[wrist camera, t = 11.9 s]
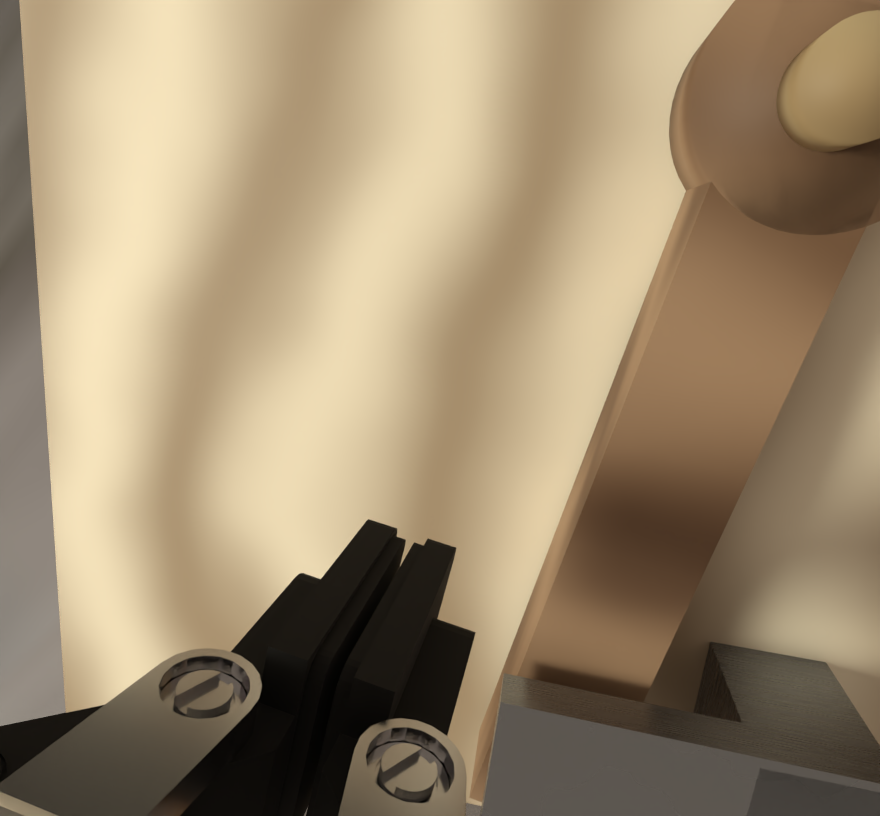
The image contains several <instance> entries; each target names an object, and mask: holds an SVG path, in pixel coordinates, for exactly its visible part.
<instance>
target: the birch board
mask: <svg viewBox="0 0 880 816" xmlns="http://www.w3.org/2000/svg"><path fill="white" fill-rule="evenodd" d="M19 1H20V16H21V31H22V47H23V62H24V77H25V93H26V108H27V123H28V138H29V154H30V169H31V184H32V200H33V215H34V230H35V246H36V261H37V276H38V292H39V307H40V322H41V338H42V353H43V368H44V384H45V399H46V414H47V429H48V445H49V460H50V475H51V491H52V506H53V521H54V537H55V552H56V567H57V583H58V598H59V613H60V629H61V644H62V659H63V675H64V690H65V705H66V713H67V712H72V711H77V710H82V709H86V708H91V707H96V706H101V705H105V704H106V703H108V702H109V701H110V700H112V699H113V698H115V697H116V696H117V695H119V694H120V693H121V692H123V691H124V690H125V689H127V688H128V687H129V686H131V685H132V684H133V683H135V682H136V681H137V680H139V679H140V678H141V677H143V676H144V675H145V674H147V673H148V672H149V671H151V670H152V669H153V668H155V667H156V666H157V665H159V664H160V663H161V662H163V661H165V660H167V659H168V658H170V657H172V656H174V655H176V654H178V653H182V652H185V651H189V650H192V649H204V648H212V649H220V650H227V651H229V652H231V651H232V650H233V648H234V647H235V646H236V645H237V644H238V643H239V642H240V640H241V639H242V638H243V637H244V636H245V635H246V633H247V632H248V631H249V630H250V629H251V628H252V627H253V625H254V624H255V623H256V622H257V621H258V620H259V618H260V617H261V616H262V615H263V614H264V613H265V612H266V610H267V609H268V608H269V607H270V606H271V605H272V603H273V602H274V601H275V600H276V599H277V598H278V596H279V595H280V594H281V593H282V592H283V591H284V590H285V588H286V587H287V586H288V585H289V584H290V583H291V581H292V580H293V579H294V578H295V577H296V576H297V575H298V574H299V573H304V574H307V575H310V576H313V577H316V578H319V579H321V578H322V577H323V576H324V574H325V573H326V572H327V571H328V569H329V568H330V567H331V565H332V564H333V563H334V562H335V560H336V559H337V558H338V557H339V555H340V554H341V553H342V551H343V550H344V549H345V548H346V546H347V545H348V544H349V543H350V541H351V540H352V539H353V537H354V536H355V535H356V534H357V532H358V531H359V530H360V529H361V527H362V526H363V525H364V523H365V522H366V521H367V520H368V519H370V520H373V521H376V522H379V523H382V524H385V525H388V526H391V527H394V528H397V537H399V538H402V539H406V543H405V548H404V552H403V556H402V560H401V564H402V562H403V561H404V559H405V557H406V555H407V554H408V552H409V550H410V548H411V546H412V545H413V543H414V542H415V543H418V544H421V545H424V544H425V542H426V540H427V539H431V540H434V541H437V542H441V543H444V544H447V545H450V546H453V547H456V553H455V557H454V561H453V564H452V568H451V572H450V575H449V579H448V582H447V586H446V590H445V593H444V597H443V600H442V604H441V608H440V611H439V615H438V618H437V619H439V620H441V621H444V622H447V623H450V624H453V625H456V626H459V627H462V628H465V629H468V630H471V631H473V632H476V633H475V637H474V641H473V644H472V648H471V652H470V655H469V659H468V663H467V666H466V670H465V673H464V677H463V681H462V684H461V688H460V691H459V695H458V699H457V702H456V706H455V710H454V713H453V717H452V720H451V724H450V728H449V731H448V735H447V737H448V738H449V739H450V740H451V741H452V742H453V743H454V744H455V746H456V747H457V748H458V750H459V752H460V754H461V756H462V758H463V760H464V762H465V769H466V775H467V783H466V803H470V804H475V805H479V806H482V802H479V801H477V800H474V799H472V798H469V797H470V790H471V783H472V777H473V770H474V763H475V757H476V750H477V743H478V737H479V730H480V727H481V724H482V722H483V719H484V717H485V714H486V711H487V709H488V706H489V704H490V701H491V698H492V696H493V693H494V690H495V688H496V685H497V683H498V680H499V677H500V675H501V672H502V670H503V667H504V664H505V662H506V659H507V657H508V654H509V651H510V649H511V646H512V643H513V641H514V638H515V636H516V633H517V630H518V628H519V625H520V623H521V620H522V617H523V615H524V612H525V610H526V607H527V604H528V602H529V599H530V597H531V594H532V591H533V589H534V586H535V583H536V581H537V578H538V576H539V573H540V570H541V568H542V565H543V563H544V560H545V557H546V555H547V552H548V550H549V547H550V544H551V542H552V539H553V536H554V534H555V531H556V529H557V526H558V523H559V521H560V518H561V516H562V513H563V510H564V508H565V505H566V503H567V500H568V497H569V495H570V492H571V490H572V487H573V484H574V482H575V479H576V476H577V474H578V471H579V469H580V466H581V463H582V461H583V458H584V456H585V453H586V450H587V448H588V445H589V443H590V440H591V437H592V435H593V432H594V430H595V427H596V424H597V422H598V419H599V416H600V414H601V411H602V409H603V406H604V403H605V401H606V398H607V396H608V393H609V390H610V388H611V385H612V383H613V380H614V377H615V375H616V372H617V369H618V367H619V364H620V362H621V359H622V356H623V354H624V351H625V349H626V346H627V343H628V341H629V338H630V336H631V333H632V330H633V328H634V325H635V323H636V320H637V317H638V315H639V312H640V309H641V307H642V304H643V302H644V299H645V296H646V294H647V291H648V289H649V286H650V283H651V281H652V278H653V276H654V273H655V270H656V268H657V265H658V262H659V260H660V257H661V255H662V252H663V249H664V247H665V244H666V242H667V239H668V236H669V234H670V231H671V229H672V226H673V223H674V221H675V218H676V216H677V213H678V210H679V208H680V205H681V202H682V200H683V197H684V195H685V192H686V190H685V188H684V186H683V184H682V183H681V181H680V179H679V177H678V174H677V172H676V169H675V166H674V164H673V159H672V155H671V150H670V140H669V121H670V113H671V107H672V102H673V99H674V95H675V92H676V88H677V86H678V83H679V81H680V79H681V76H682V74H683V72H684V70H685V68H686V66H687V65H688V63H689V61H690V60H691V58H692V56H693V55H694V54H695V52H696V51H697V49H698V48H699V47H700V45H701V44H702V43H703V41H704V40H705V39H706V37H707V36H708V35H709V33H710V32H711V31H712V30H713V28H714V27H715V26H716V24H717V23H718V22H719V20H720V19H721V18H722V16H723V15H724V14H725V12H726V11H727V10H728V9H729V7H730V6H731V5H732V3H733V2H734V1H735V0H19ZM401 564H400V566H401ZM710 642H716V643H722V644H727V645H733V646H738V647H744V648H749V649H755V650H761V651H766V652H772V653H777V654H783V655H788V656H794V657H800V658H805V659H811V660H816V661H822V662H826V663H827V665H828V666H829V668H830V669H831V671H832V672H833V674H834V676H835V677H836V679H837V680H838V682H839V683H840V685H841V686H842V688H843V689H844V691H845V693H846V694H847V696H848V697H849V699H850V700H851V702H852V703H853V705H854V707H855V708H856V710H857V711H858V713H859V714H860V716H861V717H862V719H863V720H864V722H865V724H866V725H867V727H868V728H869V730H870V731H871V733H872V734H873V736H874V738H875V739H876V741H877V742H878V744H879V745H880V221H879V222H877V223H874V224H872V225H870V226H867V227H866V228H865V231H864V233H863V235H862V237H861V239H860V241H859V243H858V245H857V248H856V250H855V252H854V254H853V256H852V258H851V260H850V263H849V265H848V267H847V269H846V271H845V273H844V275H843V277H842V280H841V282H840V284H839V286H838V288H837V290H836V292H835V295H834V297H833V299H832V301H831V303H830V305H829V307H828V309H827V312H826V314H825V316H824V318H823V320H822V322H821V324H820V327H819V329H818V331H817V333H816V335H815V337H814V339H813V341H812V344H811V346H810V348H809V350H808V352H807V354H806V356H805V358H804V361H803V363H802V365H801V367H800V369H799V371H798V373H797V376H796V378H795V380H794V382H793V384H792V386H791V388H790V390H789V393H788V395H787V397H786V399H785V401H784V403H783V405H782V408H781V410H780V412H779V414H778V416H777V418H776V420H775V422H774V425H773V427H772V429H771V431H770V433H769V435H768V437H767V440H766V442H765V444H764V446H763V448H762V450H761V452H760V454H759V457H758V459H757V461H756V463H755V465H754V467H753V469H752V472H751V474H750V476H749V478H748V480H747V482H746V484H745V486H744V489H743V491H742V493H741V495H740V497H739V499H738V501H737V503H736V506H735V508H734V510H733V512H732V514H731V516H730V518H729V521H728V523H727V525H726V527H725V529H724V531H723V533H722V535H721V538H720V540H719V542H718V544H717V546H716V548H715V550H714V553H713V555H712V557H711V559H710V561H709V563H708V565H707V567H706V570H705V572H704V574H703V576H702V578H701V580H700V582H699V585H698V587H697V589H696V591H695V593H694V595H693V597H692V599H691V602H690V604H689V606H688V608H687V610H686V612H685V614H684V617H683V619H682V621H681V623H680V625H679V627H678V629H677V631H676V634H675V636H674V638H673V640H672V642H671V644H670V646H669V648H668V651H667V653H666V655H665V657H664V659H663V661H662V663H661V666H660V668H659V670H658V672H657V674H656V676H655V678H654V680H653V683H652V685H651V687H650V689H649V691H648V693H647V695H646V698H645V700H644V703H649V704H654V705H659V706H663V707H668V708H673V709H678V710H682V711H687V712H692V713H693V712H694V708H695V703H696V699H697V695H698V691H699V687H700V683H701V679H702V675H703V670H704V666H705V662H706V658H707V654H708V650H709V646H710Z"/></svg>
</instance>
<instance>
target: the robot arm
mask: <svg viewBox="0 0 880 816" xmlns="http://www.w3.org/2000/svg"><path fill="white" fill-rule="evenodd" d="M405 543H406V539H402V538H399V537H397V528H394V527H391V526H388V525H385V524H382V523H379V522H376V521H373V520H370V519H368V520H367V521H366V522H365V523H364V525H363V526H362V527H361V529H360V530H359V531H358V532H357V534H356V535H355V536H354V537H353V539H352V540H351V541H350V543H349V544H348V545H347V546H346V548H345V549H344V550H343V551H342V553H341V554H340V555H339V557H338V558H337V559H336V560H335V562H334V563H333V564H332V565H331V567H330V568H329V569H328V571H327V572H326V573H325V574H324V576H323V577H322V578H321V579H319V578H316V577H313V576H310V575H307V574H304V573H299V574H298V575H297V576H296V577H295V578H294V579H293V580H292V581H291V583H290V584H289V585H288V586H287V587H286V588H285V590H284V591H283V592H282V593H281V594H280V595H279V596H278V598H277V599H276V600H275V601H274V602H273V603H272V605H271V606H270V607H269V608H268V609H267V610H266V612H265V613H264V614H263V615H262V616H261V617H260V618H259V620H258V621H257V622H256V623H255V624H254V625H253V627H252V628H251V629H250V630H249V631H248V632H247V633H246V635H245V636H244V637H243V638H242V639H241V640H240V642H239V643H238V644H237V645H236V646H235V647H234V648H233V650H232V651H231V652H229V651H227V650H220V649H212V648H204V649H192V650H189V651H185V652H182V653H178V654H176V655H174V656H172V657H170V658H168V659H167V660H165V661H163V662H161V663H160V664H159V665H157V666H156V667H155V668H153V669H152V670H151V671H149V672H148V673H147V674H145V675H144V676H143V677H141V678H140V679H139V680H137V681H136V682H135V683H133V684H132V685H131V686H129V687H128V688H127V689H125V690H124V691H123V692H121V693H120V694H119V695H117V696H116V697H115V698H113V699H112V700H110V701H109V702H108V703H106V704H105V705H101V706H96V707H91V708H86V709H82V710H77V711H72V712H67V713H62V714H58V715H53V716H48V717H43V718H38V719H33V720H29V721H24V722H19V723H14V724H9V725H4V726H0V816H304V813H305V811H306V809H307V807H308V810H307V814H306V816H465V815H466V783H467V775H466V769H465V762H464V760H463V758H462V756H461V754H460V752H459V750H458V748H457V747H456V746H455V744H454V743H453V742H452V741H451V740H450V739H449V738H448V737H447V735H448V731H449V728H450V724H451V720H452V717H453V713H454V710H455V706H456V702H457V699H458V695H459V691H460V688H461V684H462V681H463V677H464V673H465V670H466V666H467V663H468V659H469V655H470V652H471V648H472V644H473V641H474V637H475V633H476V632H473V631H471V630H468V629H465V628H462V627H459V626H456V625H453V624H450V623H447V622H444V621H441V620H439V619H437V618H438V615H439V611H440V608H441V604H442V600H443V597H444V593H445V590H446V586H447V582H448V579H449V575H450V572H451V568H452V564H453V561H454V557H455V553H456V547H453V546H450V545H447V544H444V543H441V542H437V541H434V540H431V539H427V540H426V542H425V544H424V545H421V544H418V543H415V542H414V543H413V545H412V546H411V548H410V550H409V552H408V554H407V555H406V557H405V559H404V561H403V562H402V564H401V560H402V556H403V552H404V548H405ZM400 564H401V566H400ZM308 805H309V806H308Z"/></svg>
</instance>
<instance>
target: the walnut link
mask: <svg viewBox="0 0 880 816" xmlns="http://www.w3.org/2000/svg"><path fill="white" fill-rule="evenodd" d="M669 140H670V150H671V155H672V159H673V164H674V166H675V169H676V172H677V174H678V177H679V179H680V181H681V183H682V184H683V186H684V188H685V190H686V192H685V195H684V197H683V200H682V202H681V205H680V208H679V210H678V213H677V216H676V218H675V221H674V223H673V226H672V229H671V231H670V234H669V236H668V239H667V242H666V244H665V247H664V249H663V252H662V255H661V257H660V260H659V262H658V265H657V268H656V270H655V273H654V276H653V278H652V281H651V283H650V286H649V289H648V291H647V294H646V296H645V299H644V302H643V304H642V307H641V309H640V312H639V315H638V317H637V320H636V323H635V325H634V328H633V330H632V333H631V336H630V338H629V341H628V343H627V346H626V349H625V351H624V354H623V356H622V359H621V362H620V364H619V367H618V369H617V372H616V375H615V377H614V380H613V383H612V385H611V388H610V390H609V393H608V396H607V398H606V401H605V403H604V406H603V409H602V411H601V414H600V416H599V419H598V422H597V424H596V427H595V430H594V432H593V435H592V437H591V440H590V443H589V445H588V448H587V450H586V453H585V456H584V458H583V461H582V463H581V466H580V469H579V471H578V474H577V476H576V479H575V482H574V484H573V487H572V490H571V492H570V495H569V497H568V500H567V503H566V505H565V508H564V510H563V513H562V516H561V518H560V521H559V523H558V526H557V529H556V531H555V534H554V536H553V539H552V542H551V544H550V547H549V550H548V552H547V555H546V557H545V560H544V563H543V565H542V568H541V570H540V573H539V576H538V578H537V581H536V583H535V586H534V589H533V591H532V594H531V597H530V599H529V602H528V604H527V607H526V610H525V612H524V615H523V617H522V620H521V623H520V625H519V628H518V630H517V633H516V636H515V638H514V641H513V643H512V646H511V649H510V651H509V654H508V657H507V659H506V662H505V664H504V667H503V670H502V672H501V675H500V677H499V680H498V683H497V685H496V688H495V690H494V693H493V696H492V698H491V701H490V704H489V706H488V709H487V711H486V714H485V717H484V719H483V722H482V724H481V727H480V730H479V737H478V743H477V750H476V757H475V763H474V770H473V777H472V783H471V790H470V797H469V798H472V799H474V800H477V801H479V802H482V800H483V794H484V788H485V782H486V776H487V770H488V764H489V758H490V752H491V746H492V740H493V734H494V728H495V722H496V716H497V710H498V705H499V699H500V693H501V687H502V681H503V675H504V673H506V674H510V675H515V676H520V677H525V678H529V679H534V680H539V681H544V682H549V683H553V684H558V685H563V686H568V687H572V688H577V689H582V690H587V691H592V692H596V693H601V694H606V695H611V696H615V697H620V698H625V699H630V700H635V701H639V702H644V700H645V698H646V695H647V693H648V691H649V689H650V687H651V685H652V683H653V680H654V678H655V676H656V674H657V672H658V670H659V668H660V666H661V663H662V661H663V659H664V657H665V655H666V653H667V651H668V648H669V646H670V644H671V642H672V640H673V638H674V636H675V634H676V631H677V629H678V627H679V625H680V623H681V621H682V619H683V617H684V614H685V612H686V610H687V608H688V606H689V604H690V602H691V599H692V597H693V595H694V593H695V591H696V589H697V587H698V585H699V582H700V580H701V578H702V576H703V574H704V572H705V570H706V567H707V565H708V563H709V561H710V559H711V557H712V555H713V553H714V550H715V548H716V546H717V544H718V542H719V540H720V538H721V535H722V533H723V531H724V529H725V527H726V525H727V523H728V521H729V518H730V516H731V514H732V512H733V510H734V508H735V506H736V503H737V501H738V499H739V497H740V495H741V493H742V491H743V489H744V486H745V484H746V482H747V480H748V478H749V476H750V474H751V472H752V469H753V467H754V465H755V463H756V461H757V459H758V457H759V454H760V452H761V450H762V448H763V446H764V444H765V442H766V440H767V437H768V435H769V433H770V431H771V429H772V427H773V425H774V422H775V420H776V418H777V416H778V414H779V412H780V410H781V408H782V405H783V403H784V401H785V399H786V397H787V395H788V393H789V390H790V388H791V386H792V384H793V382H794V380H795V378H796V376H797V373H798V371H799V369H800V367H801V365H802V363H803V361H804V358H805V356H806V354H807V352H808V350H809V348H810V346H811V344H812V341H813V339H814V337H815V335H816V333H817V331H818V329H819V327H820V324H821V322H822V320H823V318H824V316H825V314H826V312H827V309H828V307H829V305H830V303H831V301H832V299H833V297H834V295H835V292H836V290H837V288H838V286H839V284H840V282H841V280H842V277H843V275H844V273H845V271H846V269H847V267H848V265H849V263H850V260H851V258H852V256H853V254H854V252H855V250H856V248H857V245H858V243H859V241H860V239H861V237H862V235H863V233H864V231H865V228H866V227H867V226H870V225H872V224H874V223H877V222H879V221H880V0H735V1H734V2H733V3H732V5H731V6H730V7H729V9H728V10H727V11H726V12H725V14H724V15H723V16H722V18H721V19H720V20H719V22H718V23H717V24H716V26H715V27H714V28H713V30H712V31H711V32H710V33H709V35H708V36H707V37H706V39H705V40H704V41H703V43H702V44H701V45H700V47H699V48H698V49H697V51H696V52H695V54H694V55H693V56H692V58H691V60H690V61H689V63H688V65H687V66H686V68H685V70H684V72H683V74H682V76H681V79H680V81H679V83H678V86H677V88H676V92H675V95H674V99H673V102H672V107H671V113H670V121H669Z"/></svg>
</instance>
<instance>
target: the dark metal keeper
mask: <svg viewBox="0 0 880 816" xmlns="http://www.w3.org/2000/svg"><path fill="white" fill-rule="evenodd" d="M480 816H880V745H879V744H878V742H877V741H876V739H875V738H874V736H873V734H872V733H871V731H870V730H869V728H868V727H867V725H866V724H865V722H864V720H863V719H862V717H861V716H860V714H859V713H858V711H857V710H856V708H855V707H854V705H853V703H852V702H851V700H850V699H849V697H848V696H847V694H846V693H845V691H844V689H843V688H842V686H841V685H840V683H839V682H838V680H837V679H836V677H835V676H834V674H833V672H832V671H831V669H830V668H829V666H828V665H827V663H826V662H822V661H816V660H811V659H805V658H800V657H794V656H788V655H783V654H777V653H772V652H766V651H761V650H755V649H749V648H744V647H738V646H733V645H727V644H722V643H716V642H710V646H709V650H708V654H707V658H706V662H705V666H704V670H703V675H702V679H701V683H700V687H699V691H698V695H697V699H696V703H695V708H694V712H693V713H692V712H687V711H682V710H678V709H673V708H668V707H663V706H659V705H654V704H649V703H644V702H639V701H635V700H630V699H625V698H620V697H615V696H611V695H606V694H601V693H596V692H592V691H587V690H582V689H577V688H572V687H568V686H563V685H558V684H553V683H549V682H544V681H539V680H534V679H529V678H525V677H520V676H515V675H510V674H506V673H504V675H503V681H502V687H501V693H500V699H499V705H498V710H497V716H496V722H495V728H494V734H493V740H492V746H491V752H490V758H489V764H488V770H487V776H486V782H485V788H484V794H483V800H482V806H481V813H480Z"/></svg>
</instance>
